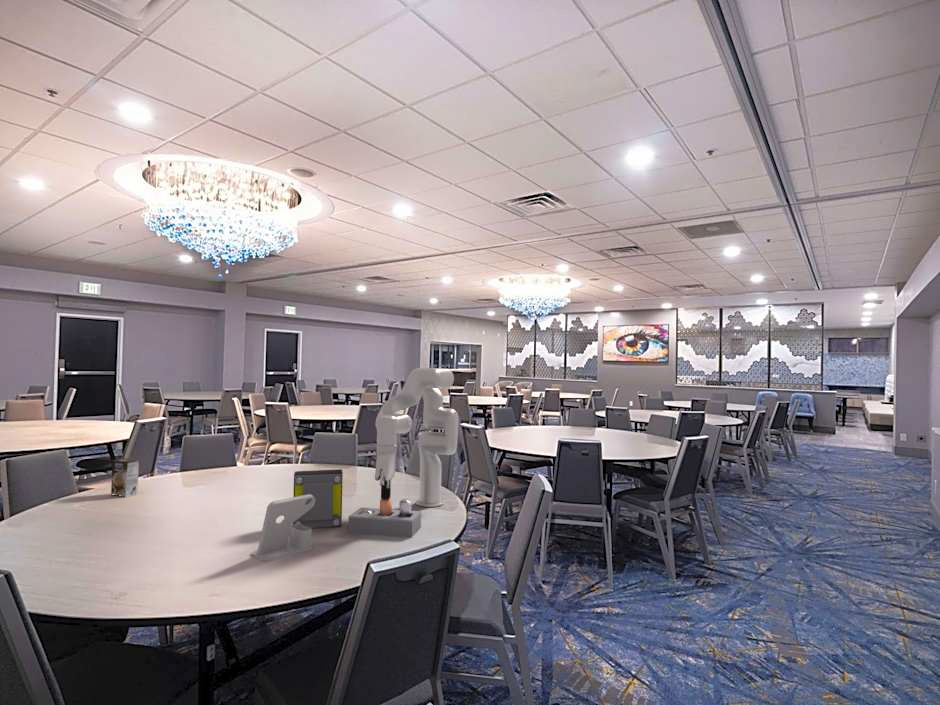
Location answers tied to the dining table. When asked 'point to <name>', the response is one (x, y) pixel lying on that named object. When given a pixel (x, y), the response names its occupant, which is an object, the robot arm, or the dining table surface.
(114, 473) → the coffee box
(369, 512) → the plunger
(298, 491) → the electrical component
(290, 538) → the phone holder
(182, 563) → the dining table surface
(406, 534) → the grey rectangular block
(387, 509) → the plunger rust
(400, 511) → the plunger
